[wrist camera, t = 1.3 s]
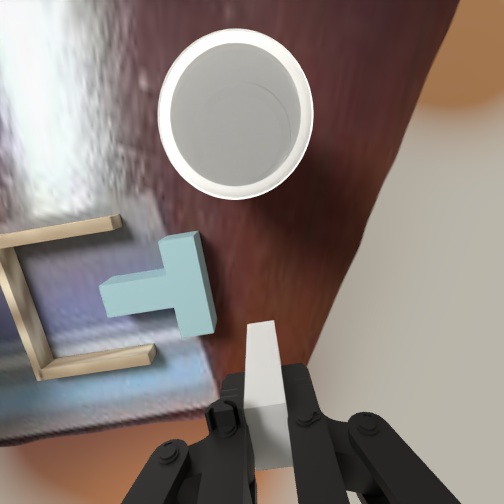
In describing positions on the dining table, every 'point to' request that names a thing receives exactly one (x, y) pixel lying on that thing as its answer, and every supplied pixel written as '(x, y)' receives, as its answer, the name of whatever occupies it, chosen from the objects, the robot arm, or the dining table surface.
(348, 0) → the dining table surface
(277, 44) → the jar
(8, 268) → the dock
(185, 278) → the t block
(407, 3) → the dining table surface
